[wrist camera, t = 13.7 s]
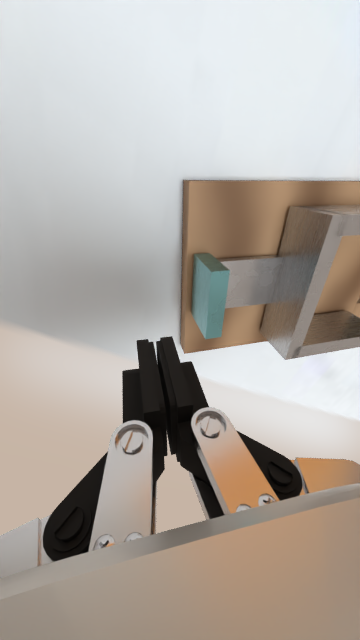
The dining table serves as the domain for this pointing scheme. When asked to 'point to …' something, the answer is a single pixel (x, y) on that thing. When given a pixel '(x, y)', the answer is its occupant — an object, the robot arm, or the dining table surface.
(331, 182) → the board
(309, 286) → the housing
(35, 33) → the dining table surface
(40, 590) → the robot arm
